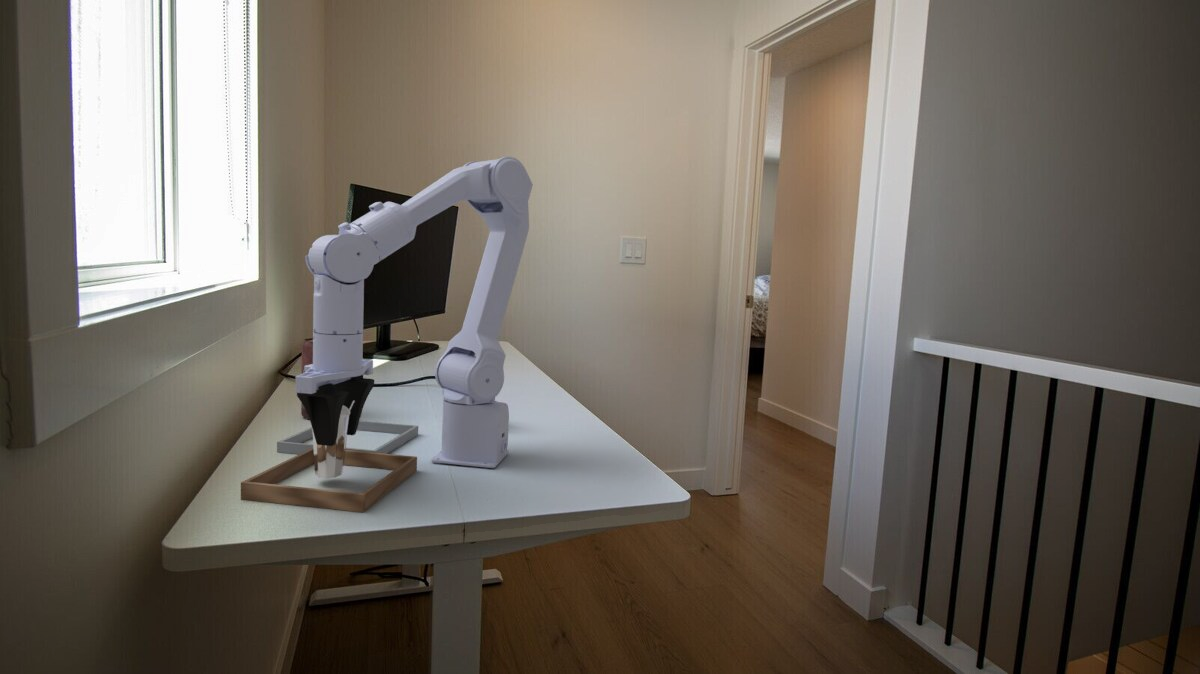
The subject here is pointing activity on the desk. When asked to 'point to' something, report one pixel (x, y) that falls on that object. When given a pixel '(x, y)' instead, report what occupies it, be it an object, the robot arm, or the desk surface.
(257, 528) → the desk surface
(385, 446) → the grey square frame
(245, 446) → the desk surface
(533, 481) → the desk surface
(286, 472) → the brown wooden frame
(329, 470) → the milkshake
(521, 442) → the desk surface
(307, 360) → the can
